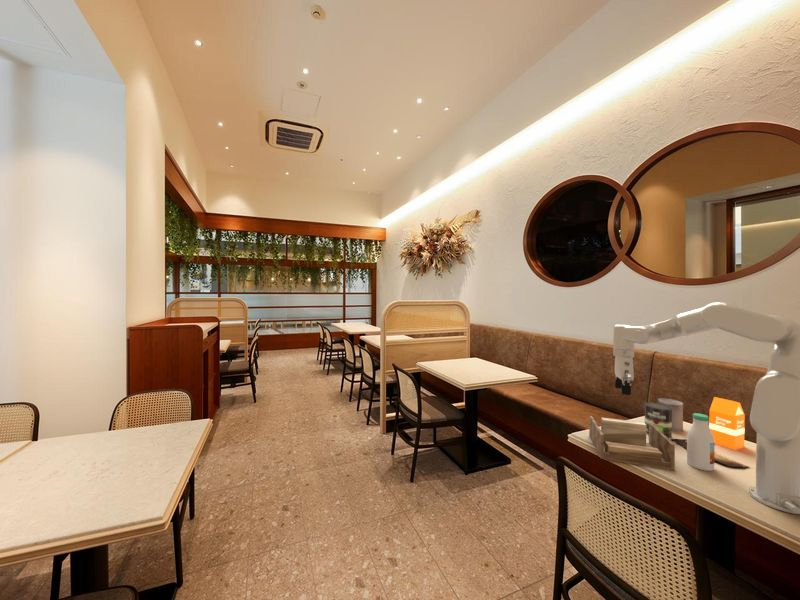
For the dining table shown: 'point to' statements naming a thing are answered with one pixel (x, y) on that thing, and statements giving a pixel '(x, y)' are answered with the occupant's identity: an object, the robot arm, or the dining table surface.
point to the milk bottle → (700, 444)
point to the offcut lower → (634, 455)
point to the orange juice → (727, 423)
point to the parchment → (717, 456)
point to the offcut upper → (633, 449)
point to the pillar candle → (674, 413)
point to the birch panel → (624, 431)
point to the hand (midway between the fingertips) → (622, 391)
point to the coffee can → (659, 418)
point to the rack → (655, 441)
